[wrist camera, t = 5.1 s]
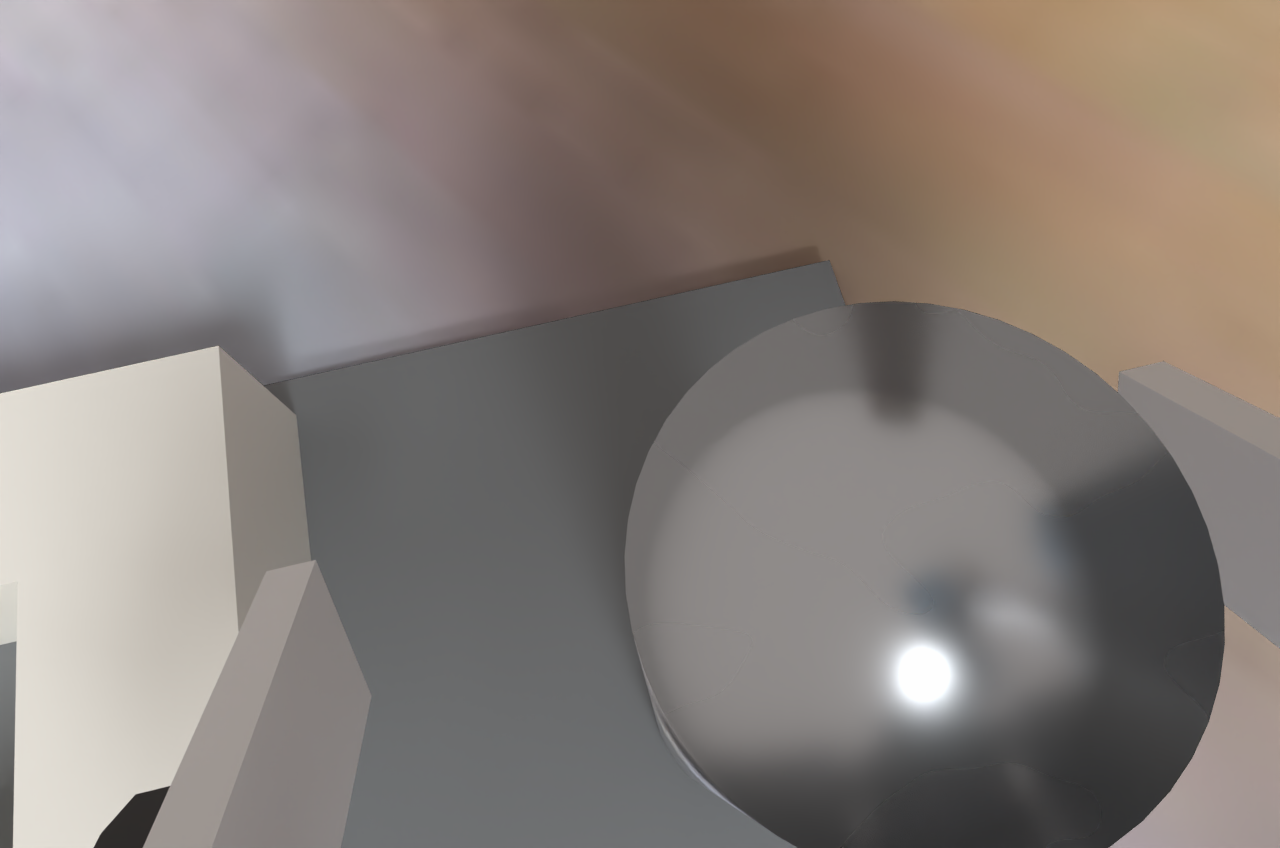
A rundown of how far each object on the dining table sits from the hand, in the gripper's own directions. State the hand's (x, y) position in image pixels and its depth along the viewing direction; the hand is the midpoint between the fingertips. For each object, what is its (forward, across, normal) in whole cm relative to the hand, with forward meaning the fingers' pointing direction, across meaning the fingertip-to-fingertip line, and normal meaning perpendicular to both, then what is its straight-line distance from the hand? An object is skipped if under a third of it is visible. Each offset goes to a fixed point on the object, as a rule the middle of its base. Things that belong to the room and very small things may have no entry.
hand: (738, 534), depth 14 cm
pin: (+3, 0, -6) cm, 6 cm away
